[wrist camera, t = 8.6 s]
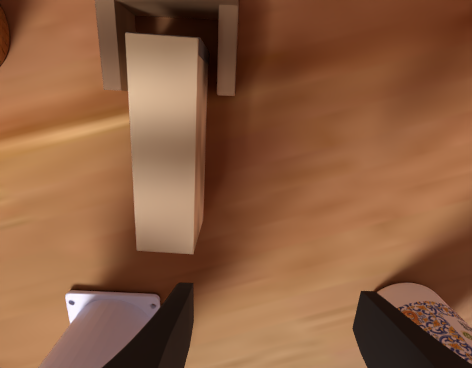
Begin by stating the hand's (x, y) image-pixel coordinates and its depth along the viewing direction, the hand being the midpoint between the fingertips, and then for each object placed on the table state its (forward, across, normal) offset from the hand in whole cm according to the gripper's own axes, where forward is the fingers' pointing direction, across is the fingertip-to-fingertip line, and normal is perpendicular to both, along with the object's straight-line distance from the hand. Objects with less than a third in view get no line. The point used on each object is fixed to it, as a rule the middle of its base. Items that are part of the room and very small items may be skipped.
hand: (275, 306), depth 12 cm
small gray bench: (+10, +6, -11) cm, 16 cm away
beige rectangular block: (+10, +6, -5) cm, 13 cm away
